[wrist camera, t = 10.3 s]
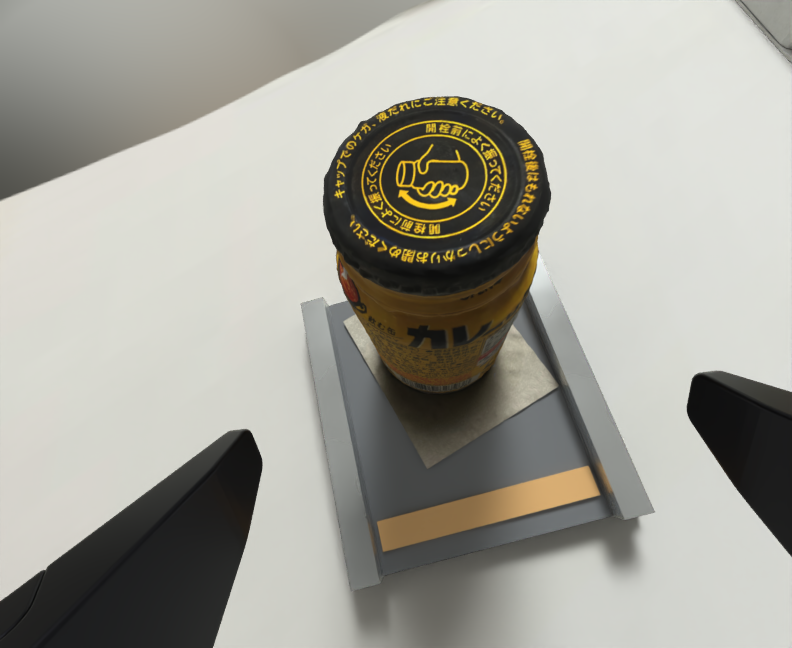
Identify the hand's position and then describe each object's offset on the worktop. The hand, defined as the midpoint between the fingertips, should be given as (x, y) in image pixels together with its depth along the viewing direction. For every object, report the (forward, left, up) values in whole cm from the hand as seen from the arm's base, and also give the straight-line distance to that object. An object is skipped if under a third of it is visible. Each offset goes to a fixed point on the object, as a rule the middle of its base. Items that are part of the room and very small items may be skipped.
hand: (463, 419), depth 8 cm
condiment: (+4, -1, -11) cm, 12 cm away
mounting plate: (+2, -1, -12) cm, 12 cm away
